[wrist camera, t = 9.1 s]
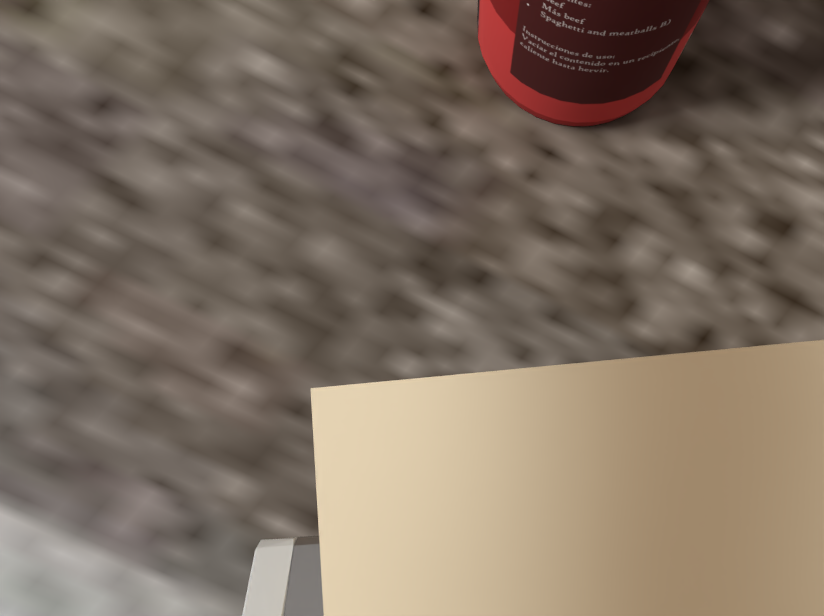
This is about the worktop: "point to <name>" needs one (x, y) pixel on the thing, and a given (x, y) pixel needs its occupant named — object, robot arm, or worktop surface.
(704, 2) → the canned food
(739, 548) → the maple block
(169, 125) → the worktop surface
